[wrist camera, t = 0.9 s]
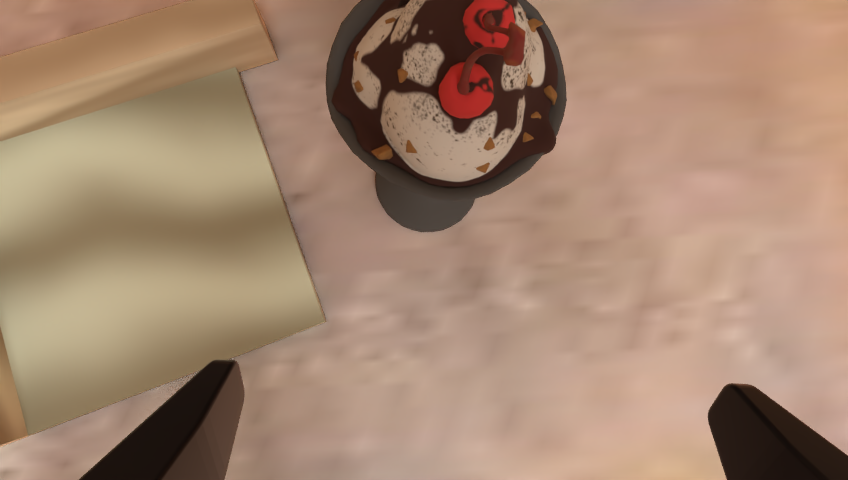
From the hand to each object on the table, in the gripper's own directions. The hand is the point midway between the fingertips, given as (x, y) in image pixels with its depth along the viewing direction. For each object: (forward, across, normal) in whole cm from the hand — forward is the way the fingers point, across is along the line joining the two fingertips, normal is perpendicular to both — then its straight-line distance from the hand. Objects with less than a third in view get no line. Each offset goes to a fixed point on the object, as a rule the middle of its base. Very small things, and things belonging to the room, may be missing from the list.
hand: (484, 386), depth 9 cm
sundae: (+15, +1, +4) cm, 15 cm away
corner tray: (+13, +14, +5) cm, 20 cm away
